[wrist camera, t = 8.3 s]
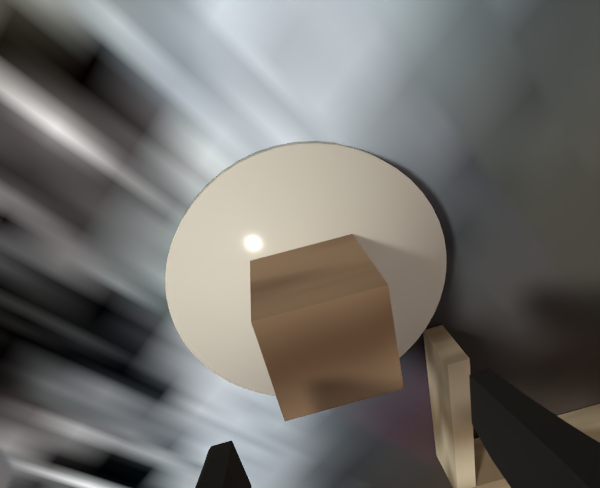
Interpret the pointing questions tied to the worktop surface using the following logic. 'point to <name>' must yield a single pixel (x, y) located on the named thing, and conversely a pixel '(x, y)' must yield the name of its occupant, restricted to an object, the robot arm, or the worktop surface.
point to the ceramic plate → (297, 245)
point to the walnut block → (324, 326)
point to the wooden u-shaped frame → (457, 415)
